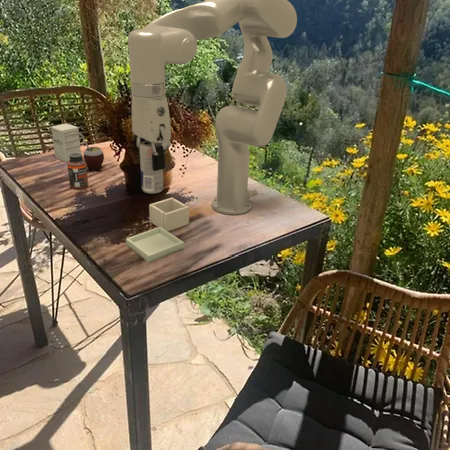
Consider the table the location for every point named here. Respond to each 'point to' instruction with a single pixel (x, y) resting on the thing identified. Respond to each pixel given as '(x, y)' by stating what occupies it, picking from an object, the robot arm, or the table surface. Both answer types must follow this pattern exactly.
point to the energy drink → (149, 169)
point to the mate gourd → (93, 157)
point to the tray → (154, 244)
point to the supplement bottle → (77, 171)
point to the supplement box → (65, 141)
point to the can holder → (169, 214)
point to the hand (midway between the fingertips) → (151, 165)
